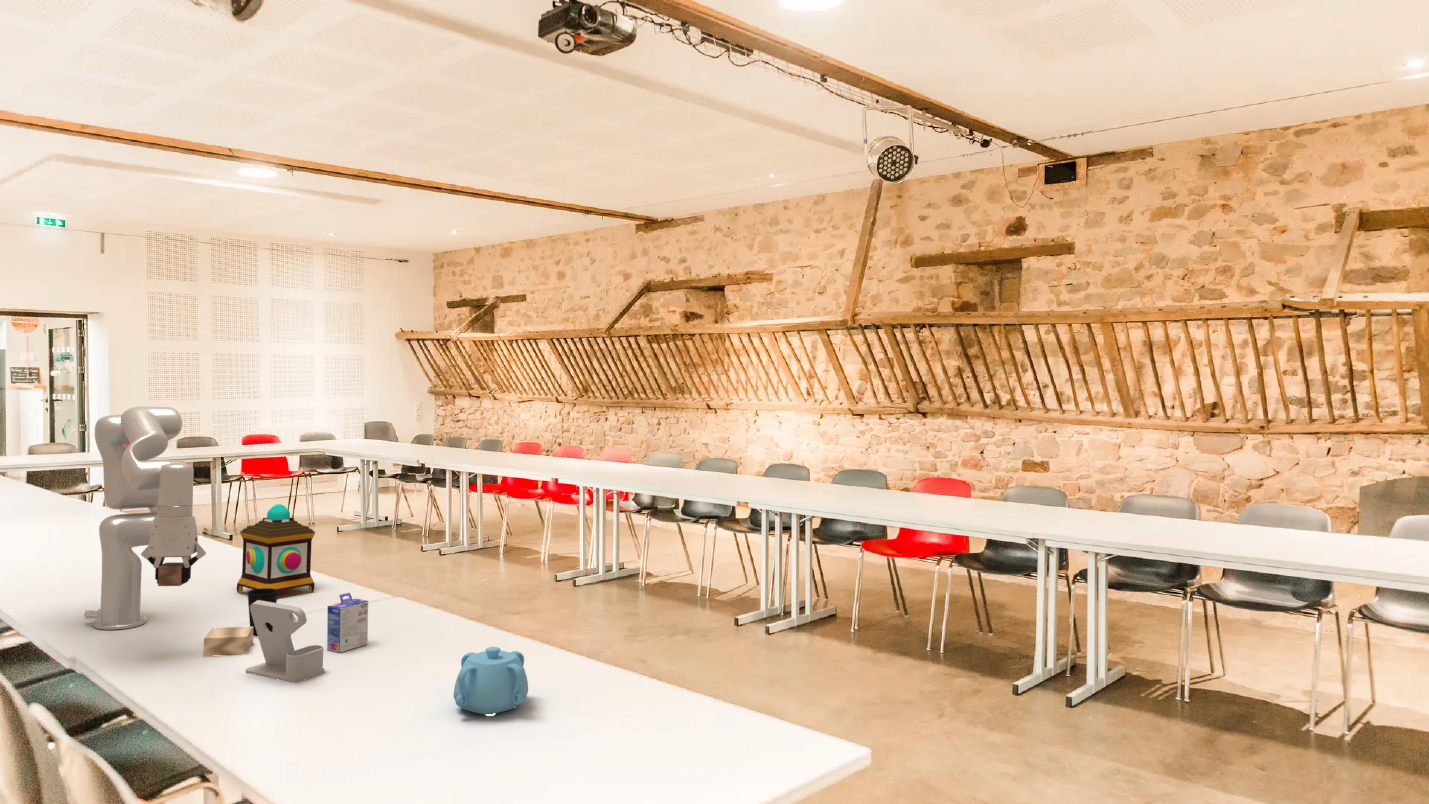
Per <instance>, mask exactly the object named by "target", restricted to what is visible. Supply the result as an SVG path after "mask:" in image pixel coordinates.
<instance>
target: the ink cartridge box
mask: <svg viewBox="0 0 1429 804" xmlns="http://www.w3.org/2000/svg"><path fill="white" fill-rule="evenodd" d="M338 595H339V599H340V602H338V603H335V604H331V605H328V606H327V617H326V618H327V619H326V620H327V622H326V623H327V624H326V625H327V633H326V634H327V635H326V637H327V638H326V640H327V641H326V643H327V644H326V645H327V646H326V649H327V651H330V652H335V653H343V652H346V651H349V650H353V649H355V648H359V647H362V646H365V645H368V637H369V636H368V635H369V634H368V633H369V630H368V629H369V627H368V625H369V620H368V619H369V600H367V599H366V600H365V599H361V598H353V597H352V594H351V593H350V592H346V593H341V594H338ZM345 597H348V598H345ZM343 598H345V599H343Z"/></svg>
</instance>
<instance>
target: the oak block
mask: <svg viewBox="0 0 1429 804" xmlns="http://www.w3.org/2000/svg"><path fill="white" fill-rule="evenodd" d="M253 645H254V636H253V626H252V627H250V626H236V627H235V626H234V627H233V626H232V627H211V629H210V630H209V631H208V633H207V634H206V636H205V637H204V638H203V657H204V656H208V657H214V656H213V655H227V656H243V655H242V654H246V655H248V653H249V651H250V650H249V649H251V648H252V646H253ZM250 647H251V648H250ZM247 652H248V653H247ZM204 658H205V657H204Z"/></svg>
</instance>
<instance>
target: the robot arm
mask: <svg viewBox="0 0 1429 804" xmlns="http://www.w3.org/2000/svg"><path fill="white" fill-rule="evenodd" d="M182 428H183V420H182V415H181V414H180V413H179V411H178V410H176V409H175V408H173V407H171V406H135V407H134V406H133V407H130V408H128V409H126V410H125V411H124V412H123V413H122V414H112V415H106V416H103V417H100V418H98V420H97V421H96V422H95V425H94V439H95V444H96V446H97V449H98V451H99V454H100V457H101V460H102V465H103V493H104V501H105V505H106V506H107V507H108V508H110V509H112V510H133V509H148V510H149V512H138V513H137V512H133V513H120V514H113V515H110V516H107V517H105V518H104V519H102V520H101V522H100V524H99V526H98V527H99V529H98V533H99V535H98V536H99V541H100V547H101V586H100V587H101V588H100V590H101V591H100V592H101V593H100V608H99V609H97V610H85V611H84V613H83V614H84V615H83V616H84V618H85V619H95V621H94V622H93V626H92V627H93V628H95V629H98V630H104V631H105V630H106V631H110V630H111V631H112V630H124V629H130V628H136V627H139V626H142V625H144V624H145V623H146V622H147V617H146V616H145V615H141V602H142V601H141V596H142V594H141V593H142V570H143V569H142V568H143V567H142V566H143V564H142V560H141V558H140V557H141V556H142V558H144V559H146V560H147V561H148V562H149V563H150V564H151V565H152V566H153V568H154V571H155V572H154V574H155V575H154V577H155V578H154V579H155V580H156V584H157V585H158V573H159V566H161V565H162V564H164V563H165V562H164V561H165V558H181V559H182V562H183V563H184V568H182V585H184V584H186V583H188V582H189V580H190V579H191V575H192V574H191V573H192V566H193V565H194V564H195V563H197V561H198V560H200V559H202V558H203V557H204V556H206V555H207V551H205V550H204V548H203V546H201V545H200V543H199V541H198V527H197V521H196V517H195V515H193V501H194V500H193V499H194V498H193V497H194V475H195V474H194V467H193V465H191V464H190V463H188V462H186V461H185V460H183V459H155V458H157V457H159V456H161V455H162V454H163V453H164V452H166V449H167V448H168V445H169V441H170V440H173V439H174V438H176V437H178V435H180V433H181V431H182ZM127 445H128V446H127ZM153 459H155V460H153ZM145 546H147V547H145ZM137 547H145V549H143V551H141V553H140V557H139V555H138V554H137V553H135V551H134V550H133V548H137ZM196 553H197V554H196ZM193 554H195V555H194V556H193V557H192V555H193Z"/></svg>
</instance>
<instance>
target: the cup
mask: <svg viewBox="0 0 1429 804" xmlns="http://www.w3.org/2000/svg"><path fill="white" fill-rule="evenodd" d="M278 593H279V591H278V590H277V589H272V588H262V589H254V590H253V589H250V590H248V591H247V602H248V617H249V618H248V619H249V627H252V626H253V635H255V636H254V637H258V635H257V631H256V628H255V625H254V621H253V618H252V615H251V611H250V605H251V604H253V603H254V602H256V601H257V600H261V601H267V602H273V603H278V602H277V601H278V595H279V594H278ZM266 627H267V628H268V629H269V631H270V632H273V630H274V629H273V626H272V625H271V624H270V623H268V622H266Z"/></svg>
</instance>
